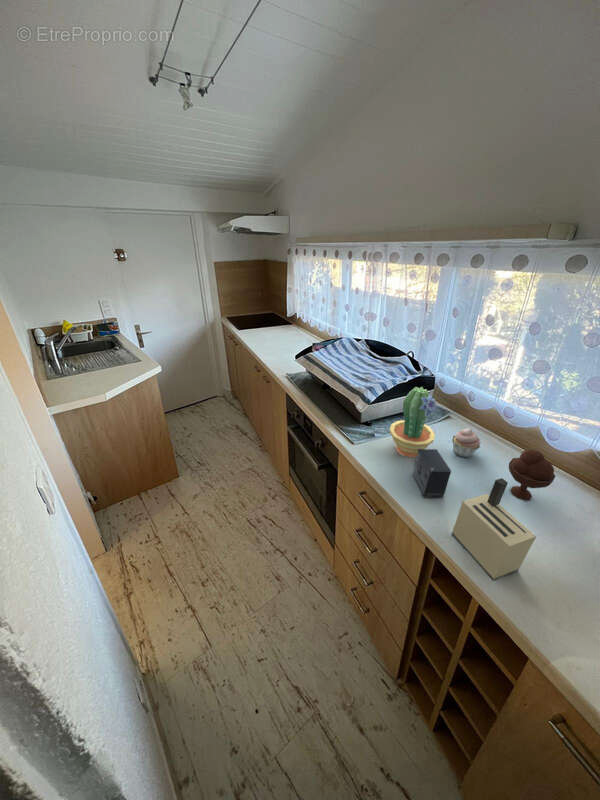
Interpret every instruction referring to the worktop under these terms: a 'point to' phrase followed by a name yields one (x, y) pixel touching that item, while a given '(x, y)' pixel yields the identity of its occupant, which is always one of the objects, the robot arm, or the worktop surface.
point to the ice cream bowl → (530, 473)
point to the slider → (497, 492)
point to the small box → (431, 473)
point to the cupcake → (465, 443)
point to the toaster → (492, 536)
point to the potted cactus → (414, 423)
